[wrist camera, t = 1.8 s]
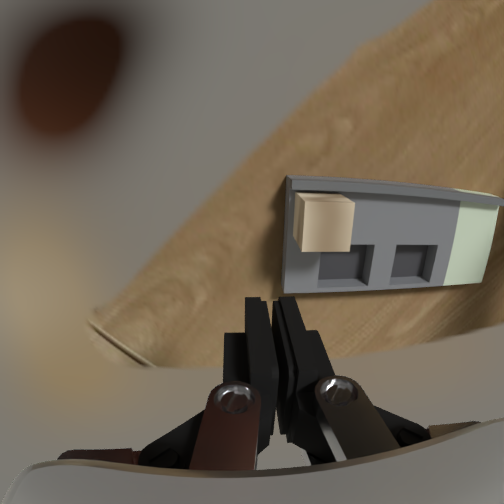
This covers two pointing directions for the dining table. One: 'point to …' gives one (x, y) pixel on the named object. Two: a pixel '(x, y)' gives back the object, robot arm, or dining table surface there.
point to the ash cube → (323, 222)
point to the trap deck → (393, 237)
